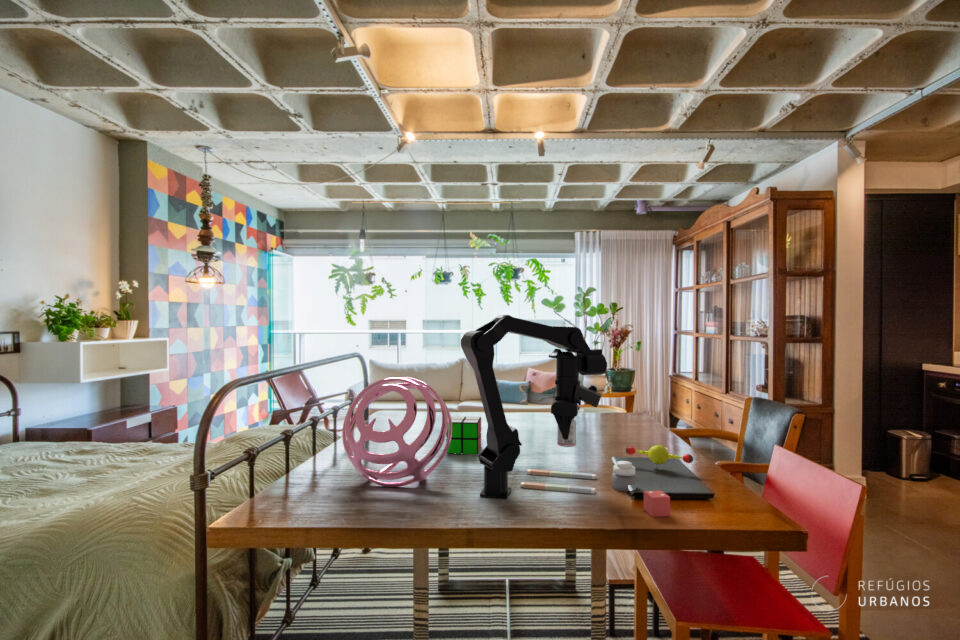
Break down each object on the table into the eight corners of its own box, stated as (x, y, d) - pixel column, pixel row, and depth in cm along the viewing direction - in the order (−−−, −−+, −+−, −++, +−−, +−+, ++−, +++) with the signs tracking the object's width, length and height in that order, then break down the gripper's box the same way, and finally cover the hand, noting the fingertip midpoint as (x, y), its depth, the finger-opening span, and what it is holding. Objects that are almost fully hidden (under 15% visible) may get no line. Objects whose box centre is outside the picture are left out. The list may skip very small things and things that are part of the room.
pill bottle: (563, 442, 128) (563, 409, 128) (579, 445, 125) (580, 412, 125) (553, 445, 124) (554, 412, 124) (570, 448, 121) (570, 414, 121)
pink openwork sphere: (390, 391, 149) (362, 345, 127) (474, 419, 141) (460, 375, 118) (344, 479, 135) (303, 444, 113) (434, 515, 127) (410, 485, 105)
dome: (636, 476, 118) (636, 466, 118) (613, 474, 119) (613, 465, 119) (634, 470, 123) (634, 460, 123) (613, 468, 124) (613, 459, 124)
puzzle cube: (481, 447, 160) (481, 416, 160) (478, 455, 150) (478, 422, 150) (451, 446, 161) (451, 416, 161) (446, 454, 151) (446, 422, 151)
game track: (638, 497, 114) (638, 484, 114) (520, 487, 121) (520, 475, 121) (635, 480, 126) (635, 468, 126) (527, 472, 133) (527, 461, 133)
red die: (670, 515, 103) (670, 496, 103) (652, 516, 103) (652, 497, 103) (661, 508, 107) (661, 490, 107) (643, 509, 107) (643, 490, 107)
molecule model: (695, 472, 134) (695, 447, 134) (691, 477, 129) (691, 451, 129) (628, 461, 143) (628, 438, 143) (623, 466, 138) (623, 442, 139)
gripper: (599, 381, 113) (598, 448, 113) (600, 373, 131) (599, 431, 131) (551, 379, 116) (550, 444, 116) (558, 372, 134) (557, 429, 134)
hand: (566, 437), depth 124 cm, fingers closed on pill bottle, 5 cm apart
